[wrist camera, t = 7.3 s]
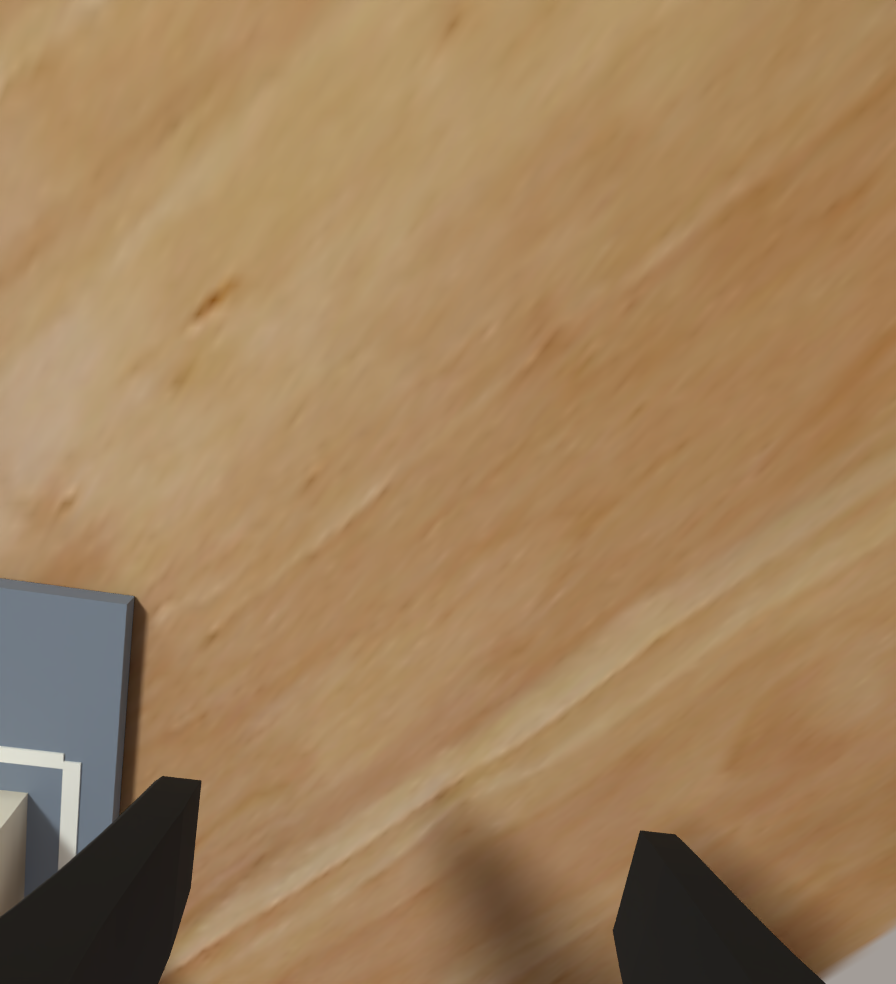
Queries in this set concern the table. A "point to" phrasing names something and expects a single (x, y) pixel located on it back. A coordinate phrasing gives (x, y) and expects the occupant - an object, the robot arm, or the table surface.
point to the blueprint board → (63, 714)
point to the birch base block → (12, 848)
